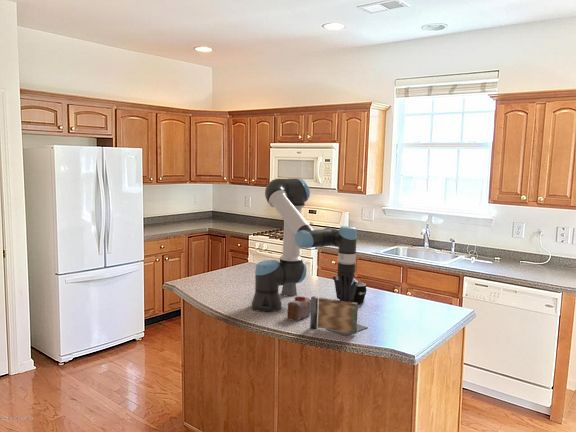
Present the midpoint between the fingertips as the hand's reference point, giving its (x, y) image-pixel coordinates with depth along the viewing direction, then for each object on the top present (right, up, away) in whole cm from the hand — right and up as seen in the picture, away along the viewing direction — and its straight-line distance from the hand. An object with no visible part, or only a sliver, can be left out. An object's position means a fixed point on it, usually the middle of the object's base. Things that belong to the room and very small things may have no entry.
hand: (344, 316), depth 202 cm
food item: (-19, -5, +19) cm, 27 cm away
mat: (+2, -6, +4) cm, 8 cm away
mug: (+13, -3, +45) cm, 47 cm away
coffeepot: (-23, 0, +58) cm, 62 cm away
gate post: (-13, -6, +3) cm, 15 cm away
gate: (-3, -6, -1) cm, 7 cm away
